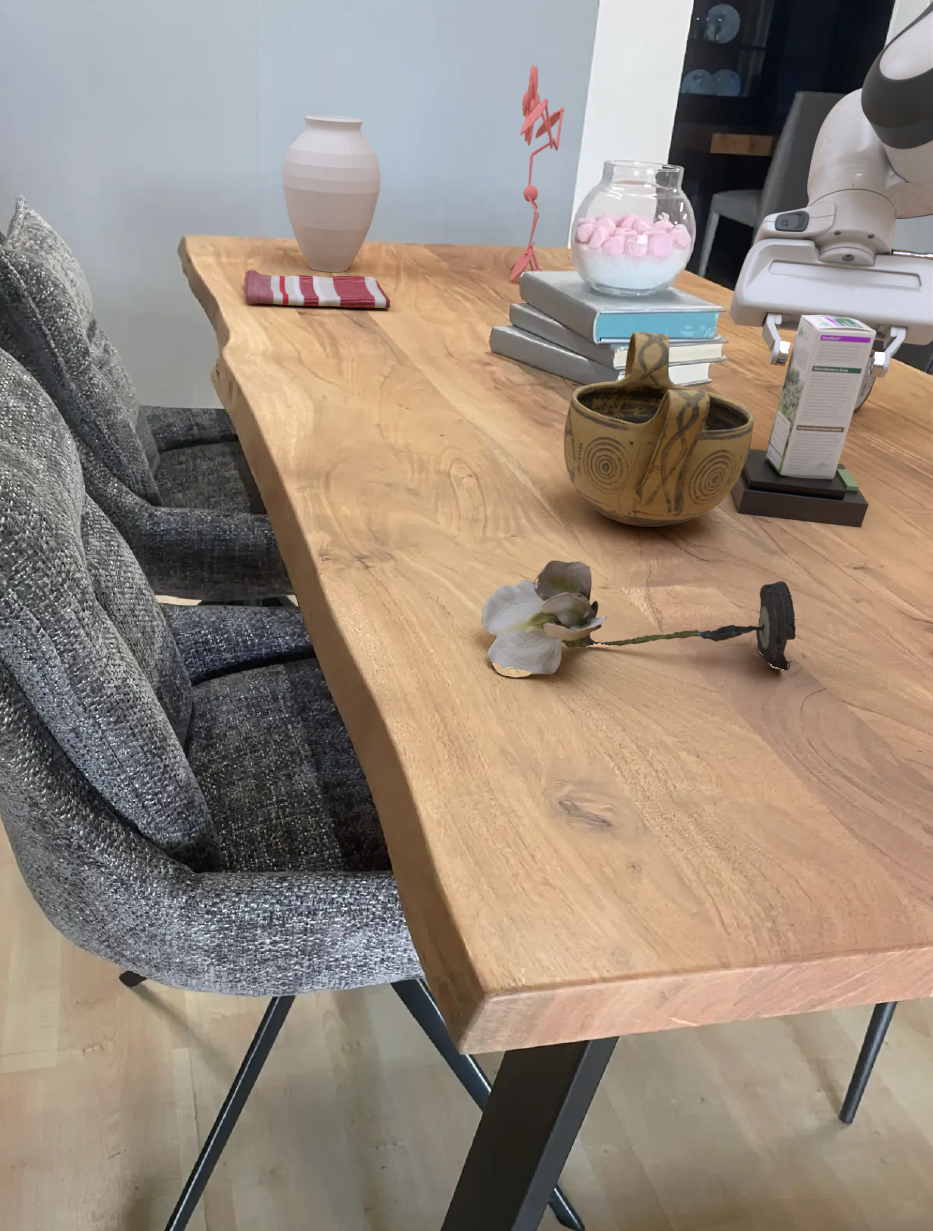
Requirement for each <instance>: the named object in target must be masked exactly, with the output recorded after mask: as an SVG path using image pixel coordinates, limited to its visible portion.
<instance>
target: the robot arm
mask: <svg viewBox="0 0 933 1231" xmlns="http://www.w3.org/2000/svg"><path fill="white" fill-rule="evenodd" d="M810 161H811V162H810V167H809V172H808V177H807V187H806V189H807V196H808V203H807V205H806V207H803V208H799V209H793V210H788V211H781V212H776V213H771V214H768V215H767V216H765V217H764V218H763V220H762V221H761V224H760V226H759V228H758V230H757V232H756V236H755V237H754V241H753V244H752V246H751V248H750V249H749V250H748V252H747V254H746V256H745V258H744V261H743V264H742V266H741V269H740V272H739V276H738V278H737V281H736V284H735V288H734V291H733V293H732V294H733V295H732V298H731V300H730V301H731V302H730V305H729V311H728V316H729V318H730V319H731V321H732V322H733V323H734V324H735V325H737V326H745V327H755V328H762V332H761V336H762V338H763V340H764V342H765V344H766V346H767V347H768V350H769V351H770V355H769V362H768V365H770V366H780V367H785V366H786V363H787V362H788V359H789V354H790V351H789V350H790V347H791V342H789V341H784V340H782V338H781V335H780V332H779V330H781V331H791V332H797V330H798V326H799V322H800V318H801V317H802V315H835V316H844V317H850V318H855V319H857V320H858V321H860V322H862V323H863V324H865V325H866V326H868V327H870V328H871V329H873V330H874V331H876V336H875V339H874V341H881V342H883V349H885V350H884V351H883V352H881V351H878V352H875V353H874V355H873V358H871V360H870V362H869V371H868V376H873V377H876V378H880V379H881V378H882V379H884V378H885V377H886V375H887V373H888V372H889V368H890V364H891V359H892V357H893V356H894V355H895V354H896V353H897V351H899V349H900V347H901V345H902V344H910V345H918V346H927V345H929V344H930V343H931V342H932V341H933V252H930V251H929V252H927V251H925V252H917V251H913V250H908V249H897V248H893V243H894V235H895V227H896V220H907V219H908V220H909V219H915V218H917V219H918V218H924V217H929V216H933V1H932V2H930V3H929V5H927V7H926V8H924V10H923V11H922V12H921V13H920V15H918V16H917V17H916V18H915V19H913V20H912V22H910V23H909V24H908V25H906V26H905V27H904V28H903V29H902V30H901V31H900V32H899V33H897V34H896V35H895V36H894V37H893V38H892V39H891V40H890V41H888V43H887V44H886V45H885V47H883V48H882V49H881V51H880V52H879V54H878V55H877V57H876V58H875V59H874V61H873V62H872V65H871V66H870V68H869V70H868V72H867V74H866V76H865V78H864V80H863V85H862V87H861V88H859V89H856V90H854V91H851V92H850V93H848V94H847V95H845V96H843V97H842V98H841V99H840V100H839V101H837V103H836V104H835V105H833V107H832V108H831V109H830V111H829V112H828V114H827V115H826V117H825V119H824V120H823V122H822V125H821V127H820V129H819V132H818V134H817V137H816V140H815V144H814V148H813V152H812V157H811V160H810Z"/></svg>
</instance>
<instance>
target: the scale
mask: <svg viewBox="0 0 933 1231" xmlns="http://www.w3.org/2000/svg"><path fill="white" fill-rule="evenodd" d="M766 451H767V450H764V449H756V448H749V452H748V456H747V459H746V461H745V464H744V466H743V469H742V471H741V474H740V476H739V479H738V480H737V482H736V483H735V485H734V486H733V488H732V489H731V491H730V494H731V496H732V499H733V502H734V506H735V508H736V510H737V513H738V514H744V515H745V514H746V515H754V516H755V515H756V516H763V517H770V518H772V517H773V518H780V519H781V518H782V519H789V520H797V521H807V522H815V523H822V522H824V523H825V524H831V525H840V524H841V525H840V526H849V527H859V528H861V527H862V526H863V523H864V520H865V516H866V514H867V512H868V508H869V502H868V500H866V497H865V496H864V495H863V493H862V492H861V490H860V485H859V484H858V483H857V481H856V480H855V478H854V476H853V475H852V473H851V472H850V470H848V469H846V466H844V464H842V463H838V465H837V469H836V472H835V476H834V478H833V479H816V478H800V477H790V476H783V475H780V474H779V473H778V472H777V470H776V469H775V468H774V467H773V466H772V464H771V463H770V462H769V461H768V460H767V459H766V457H765V455H766Z"/></svg>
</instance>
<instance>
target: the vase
mask: <svg viewBox="0 0 933 1231" xmlns="http://www.w3.org/2000/svg"><path fill="white" fill-rule="evenodd" d="M303 119H304V121H305V129H304V130H303V131H302V132H301V133H300V134H299V136H297V138H296V139H295V140H294V141H293V142H292V144H291V145H290V146H289V147H288V150H287V153H286V156H285V158H284V162H283V167H282V188H283V189H282V190H283V194H284V200H285V204H286V210H287V215H288V216H287V217H288V219H289V223H290V226H291V229H292V232H293V234H294V237H295V240H296V242H297V244H298V247H299V250H300V252H301V253H302V255H303V257H304V259H305V260H306V262H307V264H308V266H309V268H310V269H311V270H314V271H318V272H325V273H326V272H327V273H343V272H346V271H348V269H349V267H350V266H351V265H352V263H353V262H354V260H355V259H356V257H357V256H358V254H359V252H360V250H361V248H362V246H363V244H364V242H365V240H366V237H367V235H368V233H369V231H370V228H371V226H372V222H373V217H374V215H375V211H376V207H377V203H378V200H379V195H380V190H381V171H380V164H379V161H378V158H377V154H376V151H375V150H374V149H373V148H372V146H371V145H370V143H369V142H368V140H367V139H366V138H365V137H364V136H363V134H362V131H361V128H362V125H363V123H364V121H363V120H362V119H361V118H359V117H355V116H346V115H337V114H322V113H321V114H320V113H319V114H318V113H317V114H315V113H311V114H306V115H305V116H303Z"/></svg>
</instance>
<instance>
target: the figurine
mask: <svg viewBox="0 0 933 1231" xmlns="http://www.w3.org/2000/svg"><path fill="white" fill-rule="evenodd" d="M538 69H539V68H538V66H537V65H534V64H532V65H531V67H530V73H529V78H528V79H529V80H528V87H527V91H526V92H525V93H524V94H523V98H522V103H521V105H522V109H521V110H522V115H523V117H525V119H524V122H523V124H522V126H521V129H520V134H519V135H520V136H523V135H524V142H525V143H527V146H530V145H531V144H532V139H533V134H534V127H535V125H534V124H535V123H536V122H537V121H538V120H539V118H541V119H542V123H541V124H540V126H539V127H538V129H537V131H536V132H535V136H534V138H535V139H538V138H540V137H541V136H542V135H544V134H545V133H546V134H547V135H548V143H545V144H543V146H541V147H539V148H537V149H536V150H534V151H533V152H531V154H530V155H529V168H528V172H529V173H528V185H527V186H526V188H524V190H523V198H524V200H525V201H526V202H528V203H530V204H531V206H532V208H533V211H534V214H533V219H532V226H531V230H530V237H529V241H528V244H527V249H526V250H525V251H524V252H523V253H522V254H521V255H520V256H519V258H518V259H517V260H516V261H515V263H514V264H513V265H512V267H511V268H510V270H511V276H510V280H509V281H510V282H511V283H512V282H513V281H514V280H516V279H517V278H518V277H519V276H521V274H522V273H523V272H524V271H525V269H527V267H528V265H529V266H530V268H531V272H532V271H535V272H536V271H537V270H540V271H541V270H544V271H546V270H547V268H541V267H539V266H540V265H539V263H538V260H537V256H536V254H535V250H534V245H535V244H536V242H535V241H533V237H534V234H535V230H536V227H537V224H538V220H539V216H540V213H539V211H538V204H537V203H536V200H537V199H538V196H539V193H538V192H539V191H538V189H537V187H536V186H534V185H532V173H533V161H534V156H536V155H537V154H539V153H540V152H541V151H543V150H544V149H546V148H548V147H549V148H550V150H552V149H553V148H554V150H555V151H556V152H557V151H558V150H559V146H560V139H561V130H562V124H563V117H564V112H565V108H564V107H560V108H559V109H558V110H556V111H554V112H552V114H550V112H549V106H548V104H549V100H548V98H544V99H543V101H541V96H540V94H539V92H538V88H539V75H538V74H539V70H538ZM544 111H545V112H544ZM557 123H558V129H557V135H556V139H555V138H554V137H553V135H552V128H553V127H554V126H555V125H556V124H557ZM532 241H533V242H532ZM532 259H533V260H532ZM477 268H478V267H477V266H476V267H475V266H474V267H472V268H470V269H468V271H467V272H469V271H471V270H473V269H477ZM467 275H468V278H472V279H474V280H478V281H481V282H483V283H484V282H485V283H487V280H482V279H479V278H477V277H474V276H472V275H471V274H469V273H467Z"/></svg>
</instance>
